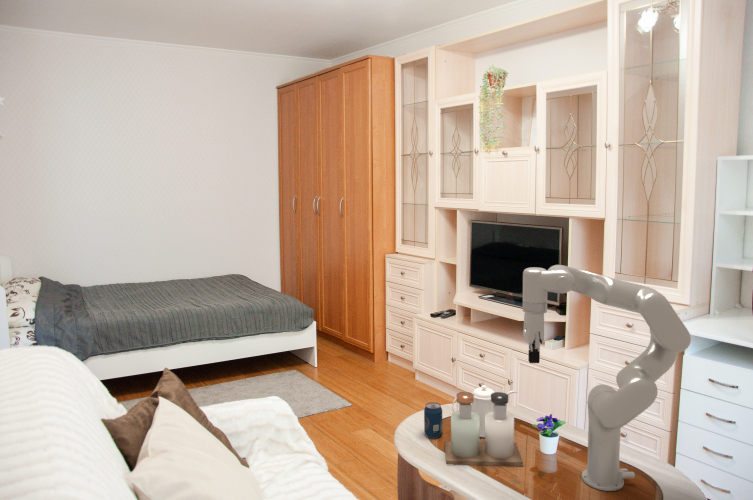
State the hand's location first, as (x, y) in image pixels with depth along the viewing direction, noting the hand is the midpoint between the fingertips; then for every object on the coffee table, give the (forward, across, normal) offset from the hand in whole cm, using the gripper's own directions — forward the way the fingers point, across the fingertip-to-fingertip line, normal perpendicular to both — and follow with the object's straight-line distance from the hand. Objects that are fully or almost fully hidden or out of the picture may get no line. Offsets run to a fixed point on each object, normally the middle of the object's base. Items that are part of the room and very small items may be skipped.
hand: (533, 362), depth 179 cm
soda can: (+39, -28, -32) cm, 58 cm away
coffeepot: (+39, -31, -12) cm, 51 cm away
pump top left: (+24, -13, -9) cm, 29 cm away
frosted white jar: (+38, -13, -9) cm, 41 cm away
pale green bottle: (+38, -13, -21) cm, 45 cm away
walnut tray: (+39, -13, -15) cm, 44 cm away
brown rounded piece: (+24, -13, -21) cm, 35 cm away
